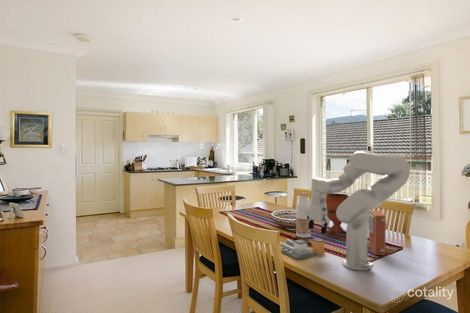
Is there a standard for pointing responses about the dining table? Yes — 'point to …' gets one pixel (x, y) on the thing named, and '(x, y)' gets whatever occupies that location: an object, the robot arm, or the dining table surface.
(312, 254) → the breaker panel
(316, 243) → the orange short cylinder
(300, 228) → the fruit juice
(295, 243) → the breaker handle
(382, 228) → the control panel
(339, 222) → the goblet
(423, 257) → the dining table surface
